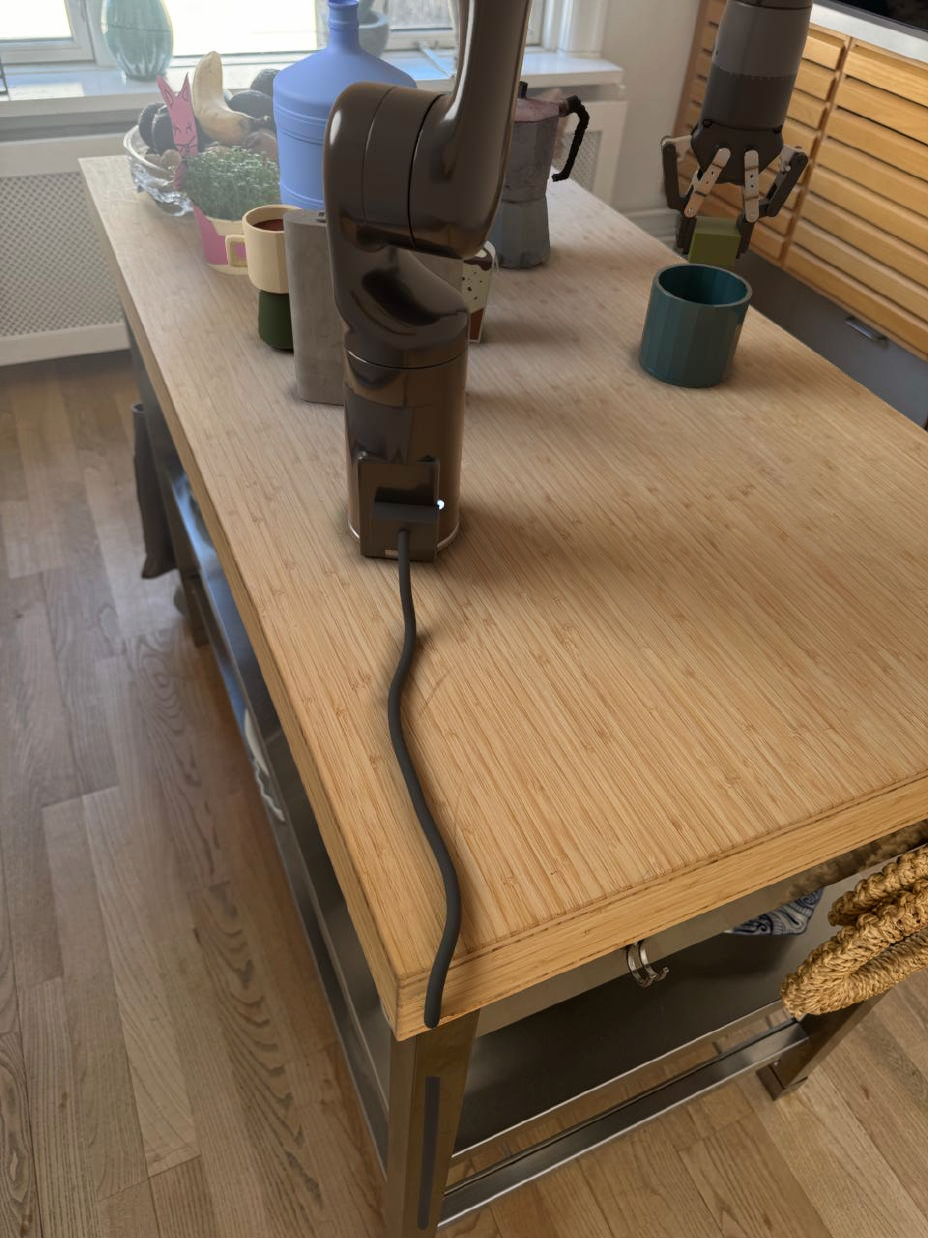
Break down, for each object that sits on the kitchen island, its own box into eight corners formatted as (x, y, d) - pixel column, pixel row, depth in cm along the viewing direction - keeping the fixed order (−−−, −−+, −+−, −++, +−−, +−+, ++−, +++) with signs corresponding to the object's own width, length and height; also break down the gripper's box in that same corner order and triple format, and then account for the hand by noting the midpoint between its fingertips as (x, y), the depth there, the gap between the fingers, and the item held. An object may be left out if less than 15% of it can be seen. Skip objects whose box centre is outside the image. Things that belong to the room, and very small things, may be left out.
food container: (497, 318, 107) (504, 230, 100) (493, 344, 102) (500, 254, 95) (390, 307, 107) (390, 219, 100) (382, 333, 103) (381, 243, 96)
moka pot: (447, 246, 120) (454, 72, 106) (551, 232, 125) (571, 64, 111) (479, 277, 114) (490, 97, 100) (587, 261, 119) (612, 87, 105)
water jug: (436, 289, 111) (445, 16, 92) (310, 309, 106) (292, 23, 86) (387, 237, 121) (386, -19, 101) (269, 253, 116) (245, -14, 96)
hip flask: (455, 387, 95) (465, 184, 81) (457, 408, 93) (468, 202, 79) (298, 384, 94) (281, 178, 80) (295, 406, 91) (278, 196, 77)
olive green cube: (733, 266, 92) (741, 236, 90) (688, 263, 92) (695, 232, 90) (727, 248, 95) (734, 218, 93) (684, 244, 95) (690, 214, 93)
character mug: (340, 324, 104) (335, 205, 95) (338, 356, 99) (332, 233, 90) (241, 322, 103) (226, 202, 94) (233, 355, 98) (217, 230, 89)
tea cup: (735, 391, 98) (759, 310, 92) (641, 383, 98) (657, 302, 92) (723, 345, 105) (744, 267, 99) (635, 337, 105) (650, 259, 99)
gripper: (678, 65, 79) (640, 263, 91) (847, 78, 78) (787, 275, 90) (670, 42, 84) (635, 232, 96) (828, 55, 84) (773, 243, 96)
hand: (709, 252), depth 93 cm, fingers closed on olive green cube, 4 cm apart
